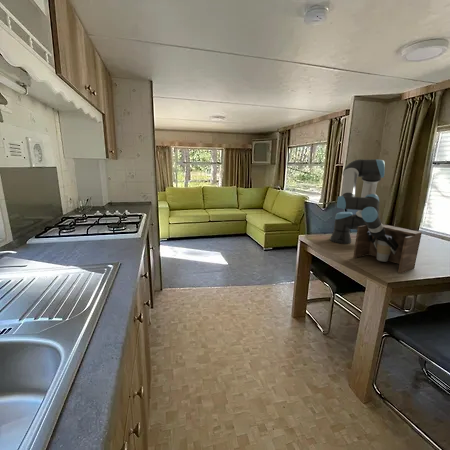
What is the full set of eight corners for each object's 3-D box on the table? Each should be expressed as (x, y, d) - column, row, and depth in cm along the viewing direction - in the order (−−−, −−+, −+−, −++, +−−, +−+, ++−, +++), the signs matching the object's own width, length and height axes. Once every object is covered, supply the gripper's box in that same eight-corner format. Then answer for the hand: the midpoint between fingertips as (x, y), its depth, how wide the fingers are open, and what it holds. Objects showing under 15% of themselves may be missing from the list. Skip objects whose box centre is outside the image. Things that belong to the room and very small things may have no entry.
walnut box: (353, 257, 166) (358, 224, 160) (367, 253, 174) (372, 222, 168) (400, 273, 142) (407, 235, 137) (414, 268, 150) (421, 232, 145)
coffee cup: (382, 263, 151) (386, 239, 148) (369, 257, 160) (373, 235, 156) (394, 262, 154) (399, 238, 150) (381, 256, 163) (385, 234, 159)
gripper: (354, 228, 154) (365, 249, 166) (393, 238, 136) (402, 260, 147) (361, 219, 155) (371, 240, 167) (400, 227, 137) (409, 250, 149)
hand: (386, 250), depth 157 cm, fingers closed on coffee cup, 9 cm apart
